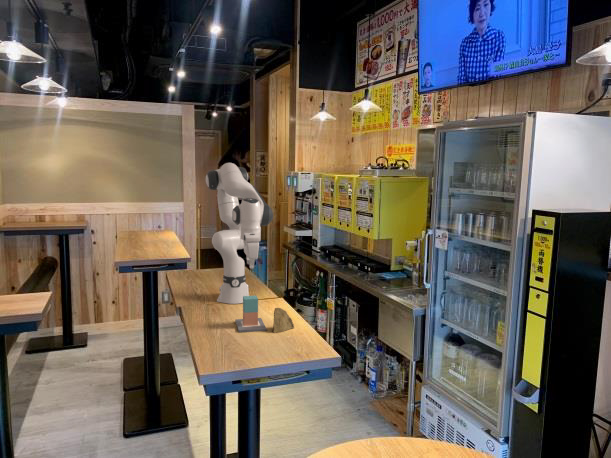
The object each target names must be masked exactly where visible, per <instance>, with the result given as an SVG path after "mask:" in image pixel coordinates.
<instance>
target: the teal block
mask: <svg viewBox="0 0 611 458" xmlns="http://www.w3.org/2000/svg"><path fill="white" fill-rule="evenodd" d="M243 310H244V313H250V312H258V313H259V297H258V296H257V295H249V296H243V303H242V311H243Z"/></svg>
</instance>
